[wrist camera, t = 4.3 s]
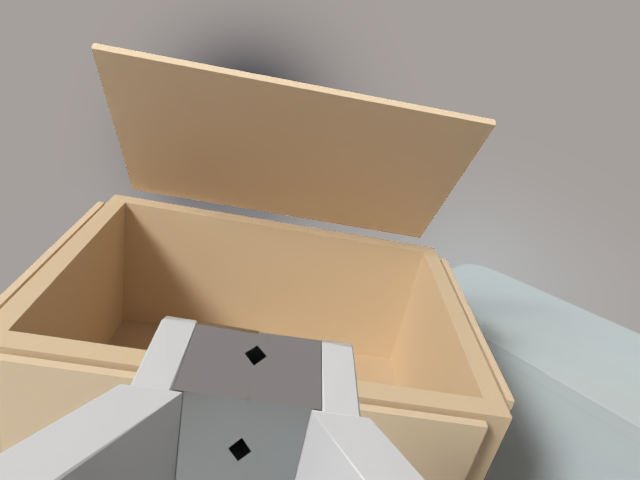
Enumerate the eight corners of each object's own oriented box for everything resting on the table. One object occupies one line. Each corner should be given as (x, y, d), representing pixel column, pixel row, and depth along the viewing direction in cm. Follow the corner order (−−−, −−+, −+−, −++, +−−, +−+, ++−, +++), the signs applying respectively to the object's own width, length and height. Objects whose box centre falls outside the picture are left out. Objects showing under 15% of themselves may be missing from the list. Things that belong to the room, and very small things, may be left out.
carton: (407, 358, 33) (442, 249, 29) (460, 575, 21) (531, 431, 17) (105, 314, 31) (105, 193, 28) (-31, 519, 19) (-60, 349, 16)
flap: (419, 233, 29) (495, 119, 21) (419, 237, 29) (495, 125, 21) (134, 184, 28) (93, 42, 19) (132, 189, 27) (91, 48, 19)
